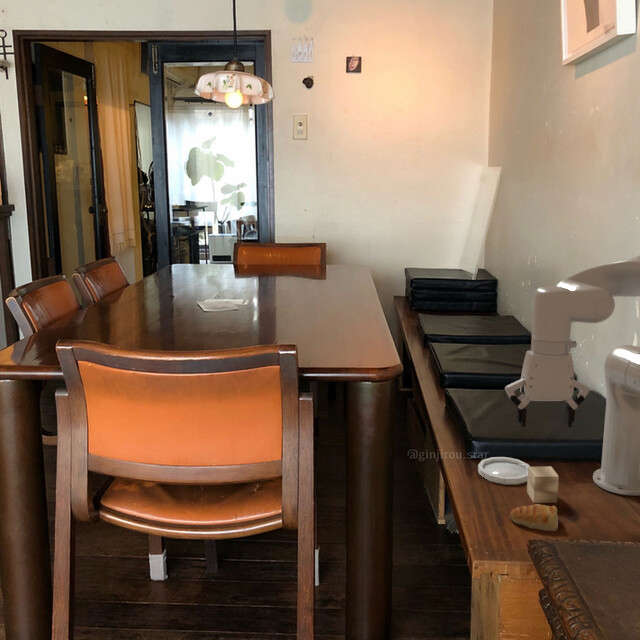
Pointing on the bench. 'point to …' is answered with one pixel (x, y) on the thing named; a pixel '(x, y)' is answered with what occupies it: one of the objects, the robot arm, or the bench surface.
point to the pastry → (536, 517)
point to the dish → (504, 470)
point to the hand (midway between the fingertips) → (544, 425)
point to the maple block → (542, 484)
